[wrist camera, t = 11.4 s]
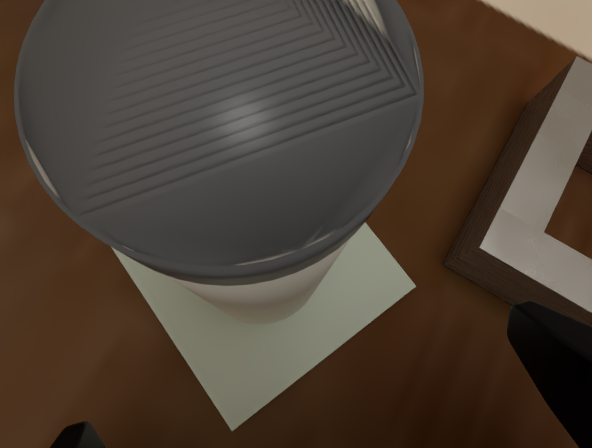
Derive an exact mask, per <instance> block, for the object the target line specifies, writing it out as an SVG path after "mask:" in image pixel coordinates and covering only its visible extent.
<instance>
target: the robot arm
mask: <svg viewBox="0 0 592 448" xmlns="http://www.w3.org/2000/svg"><path fill="white" fill-rule="evenodd" d="M507 336H508V339H509V341H510V343H511V345H512V347H513V348H514V350H515V352H516V353H517V355H518V357H519V358H520V360H521V362H522V363H523V365H524V367H525V368H526V370H527V372H528V373H529V375H530V377H531V378H532V380H533V382H534V383H535V385H536V387H537V388H538V390H539V392H540V393H541V395H542V397H543V398H544V400H545V401H546V403H547V404H548V406H549V407H550V409H551V410H552V411H553V413H554V414H555V416H556V417H557V418H558V420H559V421H560V422H561V424H562V425H563V426H564V428H565V429H566V430H567V432H568V433H569V434H570V436H571V437H572V438H573V440H574V441H575V443H576V444H577V445H578V447H579V448H592V327H591V326H589V325H587V324H584V323H582V322H580V321H577V320H575V319H573V318H571V317H568V316H566V315H564V314H561V313H559V312H557V311H555V310H552V309H550V308H548V307H545V306H543V305H541V304H539V303H536V302H534V301H524V302H520V303H517V304H514V305H512V307H511V308H510V313H509V320H508V327H507ZM50 448H105V447H104V444H103V442H102V441H101V439H100V438H99V436H98V434H97V433H96V431H95V430H94V428H93V426H92V425H91V424H90V423H89V422H87V421H84V422H80V423H77V424H73V425H70V426H67V427H66V428H65V429H64V430H63V431H62V432H61V433H60V435H59V436H58V437H57V439H56V440H55V441H54V443H53V444H52V446H51V447H50Z"/></svg>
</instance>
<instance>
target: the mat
mask: <svg viewBox="0 0 592 448" xmlns="http://www.w3.org/2000/svg"><path fill="white" fill-rule="evenodd" d="M112 249H113V250H114V252H115V254H116V255H117V257H118V258H119V260H120V261H121V263H122V264H123V266H124V267H125V269H126V270H127V272H128V273H129V275H130V276H131V278H132V279H133V281H134V283H135V284H136V286H137V287H138V289H139V290H140V292H141V293H142V295H143V296H144V298H145V299H146V301H147V302H148V304H149V305H150V307H151V308H152V310H153V312H154V313H155V315H156V316H157V318H158V319H159V321H160V322H161V324H162V325H163V327H164V328H165V330H166V331H167V333H168V334H169V336H170V337H171V339H172V341H173V342H174V344H175V345H176V347H177V348H178V350H179V351H180V353H181V354H182V356H183V357H184V359H185V360H186V362H187V363H188V365H189V366H190V368H191V369H192V371H193V373H194V374H195V376H196V377H197V379H198V380H199V382H200V383H201V385H202V386H203V388H204V389H205V391H206V392H207V394H208V395H209V397H210V398H211V400H212V402H213V403H214V405H215V406H216V408H217V409H218V411H219V412H220V414H221V415H222V417H223V418H224V420H225V421H226V423H227V424H228V426H229V427H230V429H231V431H233V430H234V429H236V428H237V427H238V426H239V425H241V424H242V423H243V422H244V421H246V420H247V419H248V418H250V417H251V416H252V415H253V414H255V413H256V412H257V411H258V410H260V409H261V408H262V407H264V406H265V405H266V404H267V403H269V402H270V401H271V400H272V399H274V398H275V397H276V396H277V395H279V394H280V393H281V392H283V391H284V390H285V389H286V388H288V387H289V386H290V385H291V384H293V383H294V382H295V381H297V380H298V379H299V378H300V377H302V376H303V375H304V374H305V373H307V372H308V371H309V370H310V369H312V368H313V367H314V366H316V365H317V364H318V363H319V362H321V361H322V360H323V359H324V358H326V357H327V356H328V355H330V354H331V353H332V352H333V351H335V350H336V349H337V348H338V347H340V346H341V345H342V344H343V343H345V342H346V341H347V340H349V339H350V338H351V337H352V336H354V335H355V334H356V333H357V332H359V331H360V330H361V329H363V328H364V327H365V326H366V325H368V324H369V323H370V322H371V321H373V320H374V319H375V318H376V317H378V316H379V315H380V314H382V313H383V312H384V311H385V310H387V309H388V308H389V307H390V306H392V305H393V304H394V303H395V302H397V301H398V300H399V299H401V298H402V297H403V296H404V295H406V294H407V293H408V292H409V291H411V290H412V289H413V288H415V287H416V285H415V284H414V283H413V282H412V280H411V279H410V278H409V277H408V275H407V274H406V273H405V272H404V270H403V269H402V268H401V267H400V265H399V264H398V263H397V262H396V260H395V259H394V258H393V257H392V255H391V254H390V253H389V252H388V250H387V249H386V248H385V247H384V245H383V244H382V243H381V242H380V240H379V239H378V238H377V237H376V235H375V234H374V233H373V232H372V230H371V229H370V228H369V227H368V225H367V224H366V223H364V224H363V225H362V226H361V227H360V229H359V230H358V231H357V232H356V233H355V234H354V235H353V236H352V237H351V238H350V240H349V241H348V243H347V244H346V246H345V247H344V249H343V250H342V252H341V253H340V255H339V256H338V258H337V259H336V260H335V262H334V263H333V265H332V266H331V268H330V269H329V271H328V272H327V274H326V275H325V277H324V278H323V280H322V281H321V283H320V284H319V286H318V287H317V288H316V290H315V291H314V293H313V294H312V296H311V297H310V299H309V300H308V301H307V303H306V304H305V305H304V306H303V307H302V308H301V309H300V310H298V311H297V312H296V313H294V314H293V315H291V316H289V317H287V318H285V319H283V320H280V321H277V322H273V323H268V324H253V323H248V322H243V321H241V320H238V319H235V318H233V317H232V316H230V315H228V314H226V313H225V312H223V311H222V310H220V309H218V308H217V307H215V306H214V305H212V304H210V303H209V302H207V301H206V300H204V299H202V298H201V297H199V296H198V295H196V294H194V293H193V292H191V291H190V290H188V289H186V288H185V287H183V286H182V285H180V284H178V283H177V282H175V281H174V280H172V279H170V278H169V277H167V276H166V275H164V274H161V273H158V272H156V271H154V270H152V269H150V268H148V267H146V266H144V265H142V264H140V263H138V262H136V261H134V260H133V259H131V258H129V257H128V256H126V255H124V254H122V253H121V252H119V251H117V250H116V249H114V248H112Z"/></svg>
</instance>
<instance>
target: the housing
mask: <svg viewBox="0 0 592 448" xmlns="http://www.w3.org/2000/svg"><path fill="white" fill-rule="evenodd" d="M575 165H577V166H579V167H581V168H583V169H585V170H587V171H588V172H590V173H592V64H591V63H589V62H587V61H585V60H583V59H581V58H579V57H575V58H574V59H573V60H572V61H571V62H570V63H569V64H568V65H567V66H566V67H565V68H564V69H563V70H562V71H561V72H560V73H559V74H558V75H557V76H556V77H554V78H553V79H552V80H551V81H550V82H549V83H548V84H547V85H546V86H545V87H544V88H543V89H542V90H541V91H540V92H539V93H538V94H537V95H536V96H534V97H533V98H532V99H531V100H530V101H529V102H528V104H527V106H526V107H525V109H524V111H523V113H522V115H521V117H520V119H519V121H518V123H517V125H516V126H515V128H514V130H513V132H512V134H511V136H510V138H509V140H508V142H507V144H506V145H505V147H504V149H503V151H502V153H501V155H500V157H499V159H498V161H497V163H496V164H495V166H494V168H493V170H492V172H491V174H490V176H489V178H488V180H487V182H486V183H485V185H484V187H483V189H482V191H481V193H480V195H479V197H478V199H477V201H476V202H475V204H474V206H473V208H472V210H471V212H470V214H469V216H468V218H467V220H466V221H465V223H464V225H463V227H462V229H461V231H460V233H459V235H458V237H457V239H456V240H455V242H454V244H453V246H452V248H451V250H450V252H449V254H448V256H447V258H446V259H445V261H444V263H443V265H445V266H446V267H448V268H450V269H452V270H453V271H455V272H457V273H458V274H460V275H462V276H463V277H465V278H467V279H468V280H470V281H472V282H474V283H475V284H477V285H479V286H480V287H482V288H484V289H485V290H487V291H489V292H491V293H492V294H494V295H496V296H497V297H499V298H501V299H502V300H504V301H506V302H508V303H509V304H511V305H514V304H517V303H520V302H524V301H534V302H536V303H539V304H541V305H543V306H545V307H548V308H550V309H552V310H555V311H557V312H559V313H561V314H564V315H566V316H568V317H571V318H573V319H575V320H577V321H580V322H582V323H584V324H587V325H589V326H591V327H592V259H590V258H588V257H586V256H585V255H583V254H581V253H579V252H577V251H576V250H574V249H572V248H570V247H569V246H567V245H565V244H563V243H562V242H560V241H558V240H556V239H554V238H553V237H551V236H549V235H547V234H546V233H544V230H545V228H546V226H547V224H548V222H549V220H550V218H551V216H552V213H553V211H554V209H555V207H556V205H557V203H558V201H559V199H560V197H561V194H562V192H563V190H564V188H565V186H566V184H567V182H568V180H569V177H570V175H571V173H572V171H573V169H574V167H575Z"/></svg>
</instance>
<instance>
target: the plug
mask: <svg viewBox="0 0 592 448" xmlns="http://www.w3.org/2000/svg"><path fill="white" fill-rule="evenodd" d="M423 100H424V87H423V70H422V64H421V58H420V52H419V49H418V46H417V43H416V39H415V36H414V33H413V30H412V28H411V26H410V24H409V22H408V20H407V18H406V16H405V14H404V11H403V10H402V8H401V7H400V5H399V4H398V2H397V1H396V0H45V1H44V2H43V4H42V6H41V7H40V9H39V11H38V12H37V14H36V16H35V17H34V19H33V21H32V23H31V25H30V27H29V30H28V32H27V34H26V36H25V39H24V41H23V44H22V48H21V51H20V55H19V59H18V62H17V66H16V75H15V84H14V107H15V117H16V122H17V128H18V133H19V138H20V140H21V143H22V146H23V149H24V151H25V154H26V157H27V160H28V162H29V164H30V166H31V167H32V169H33V171H34V173H35V175H36V176H37V178H38V180H39V182H40V184H41V185H42V186H43V188H44V189H45V190H46V191H47V193H48V194H49V195H50V197H51V198H52V199H53V200H54V202H55V203H56V204H57V205H58V206H59V207H60V208H61V209H62V210H63V211H64V212H65V213H66V214H67V215H68V216H69V217H70V218H71V219H72V220H73V221H74V222H75V223H77V224H78V225H79V226H81V227H82V228H83V229H85V230H86V231H88V232H89V233H91V234H92V235H93V236H95V237H96V238H98V239H99V240H101V241H102V242H104V243H106V244H107V245H109V246H111V247H112V248H114V249H116V250H117V251H119V252H121V253H122V254H124V255H126V256H128V257H129V258H131V259H133V260H134V261H136V262H138V263H140V264H142V265H144V266H146V267H148V268H150V269H152V270H154V271H156V272H158V273H161V274H164V275H166V276H167V277H169V278H170V279H172V280H174V281H175V282H177V283H178V284H180V285H182V286H183V287H185V288H186V289H188V290H190V291H191V292H193V293H194V294H196V295H198V296H199V297H201V298H202V299H204V300H206V301H207V302H209V303H210V304H212V305H214V306H215V307H217V308H218V309H220V310H222V311H223V312H225V313H226V314H228V315H230V316H232V317H233V318H235V319H238V320H241V321H243V322H248V323H253V324H268V323H273V322H277V321H280V320H283V319H285V318H287V317H289V316H291V315H293V314H294V313H296V312H297V311H298V310H300V309H301V308H302V307H303V306H304V305H305V304H306V303H307V301H308V300H309V299H310V297H311V296H312V294H313V293H314V291H315V290H316V288H317V287H318V286H319V284H320V283H321V281H322V280H323V278H324V277H325V275H326V274H327V272H328V271H329V269H330V268H331V266H332V265H333V263H334V262H335V260H336V259H337V258H338V256H339V255H340V253H341V252H342V250H343V249H344V247H345V246H346V244H347V243H348V241H349V240H350V238H351V237H352V236H353V235H354V234H355V233H356V232H357V231H358V230H359V229H360V227H361V226H362V225H363V224H364V223H365V222H366V221H367V219H368V218H369V217H370V215H371V214H372V213H373V211H374V210H375V208H376V207H377V206H378V204H379V203H380V201H381V200H382V199H383V197H384V196H385V194H386V193H387V192H388V190H389V189H390V187H391V186H392V184H393V183H394V181H395V180H396V178H397V176H398V175H399V173H400V172H401V170H402V169H403V167H404V165H405V163H406V161H407V158H408V156H409V154H410V152H411V150H412V148H413V145H414V142H415V139H416V135H417V132H418V129H419V125H420V122H421V114H422V107H423Z"/></svg>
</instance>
